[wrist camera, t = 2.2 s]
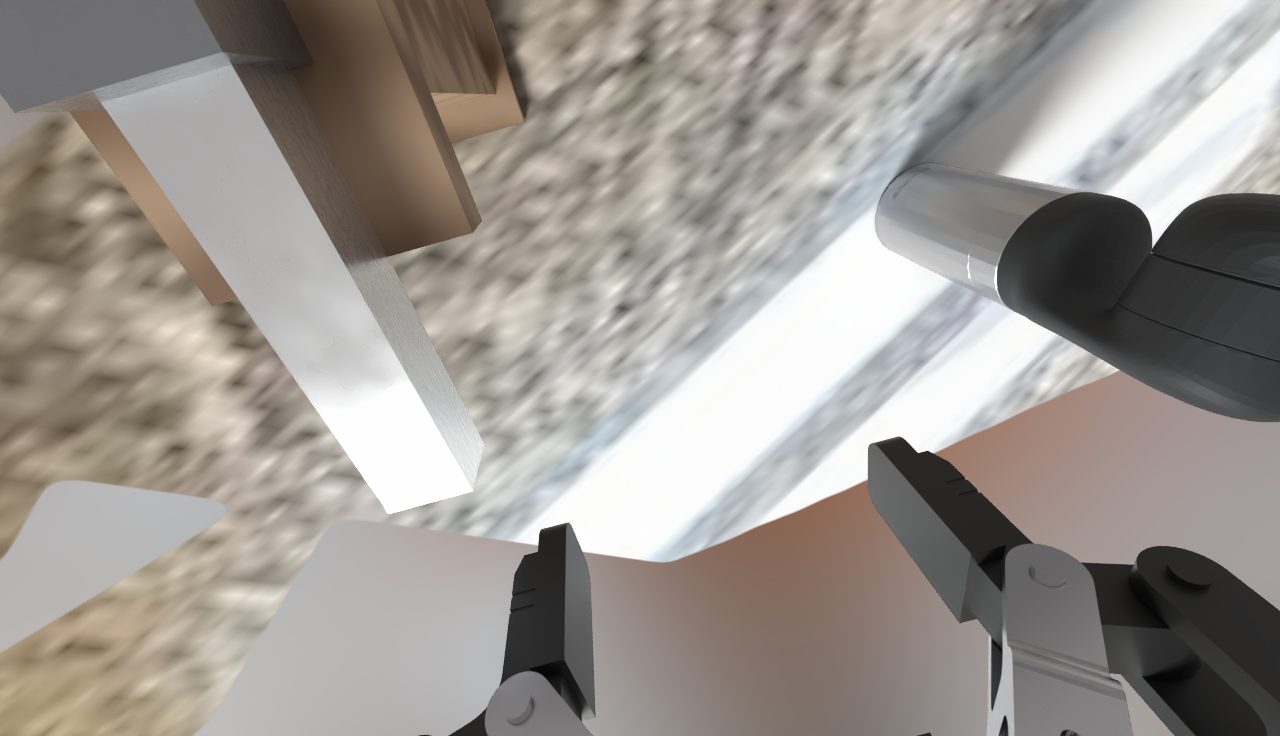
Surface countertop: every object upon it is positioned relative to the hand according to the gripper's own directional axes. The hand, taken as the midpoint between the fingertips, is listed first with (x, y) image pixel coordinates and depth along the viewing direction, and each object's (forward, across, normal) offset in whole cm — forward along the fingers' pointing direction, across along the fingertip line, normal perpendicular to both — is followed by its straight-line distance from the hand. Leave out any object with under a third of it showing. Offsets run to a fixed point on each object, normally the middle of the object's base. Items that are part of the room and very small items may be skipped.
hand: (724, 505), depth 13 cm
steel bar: (+9, -11, +8) cm, 16 cm away
